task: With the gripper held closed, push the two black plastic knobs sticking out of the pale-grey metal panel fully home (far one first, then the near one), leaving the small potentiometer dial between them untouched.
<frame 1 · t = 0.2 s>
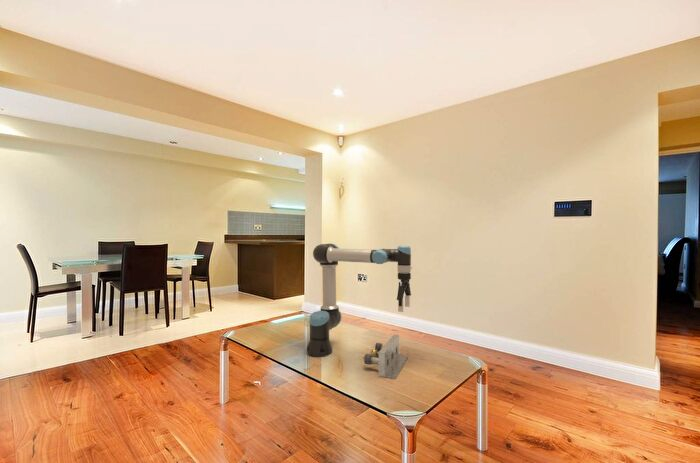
hand: (404, 309, 183), 27 cm above the table, fingers open, 13 cm apart
knob far: (385, 348, 180), point 5 cm above the table, slide at 0.0 cm
panel: (389, 364, 170), on the table
knob near: (375, 360, 164), point 5 cm above the table, slide at 0.0 cm
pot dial: (381, 354, 172), point 5 cm above the table, slide at 0.0 cm
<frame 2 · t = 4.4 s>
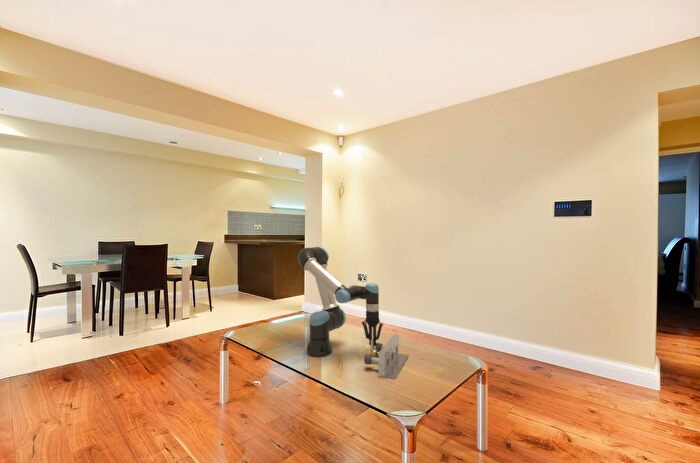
hand: (372, 350, 183), 3 cm above the table, fingers closed
knob far: (385, 348, 180), point 5 cm above the table, slide at 0.2 cm, touching gripper
everything else where it was.
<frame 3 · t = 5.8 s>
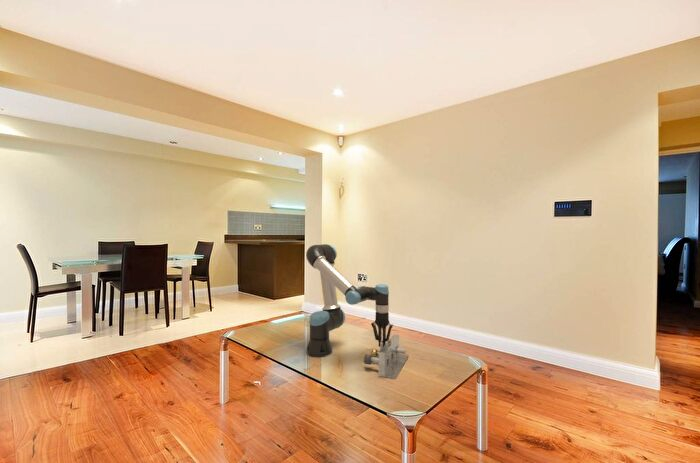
hand: (382, 352, 181), 2 cm above the table, fingers closed
knob far: (395, 350, 178), point 5 cm above the table, slide at 6.0 cm, touching gripper
everything else where it was.
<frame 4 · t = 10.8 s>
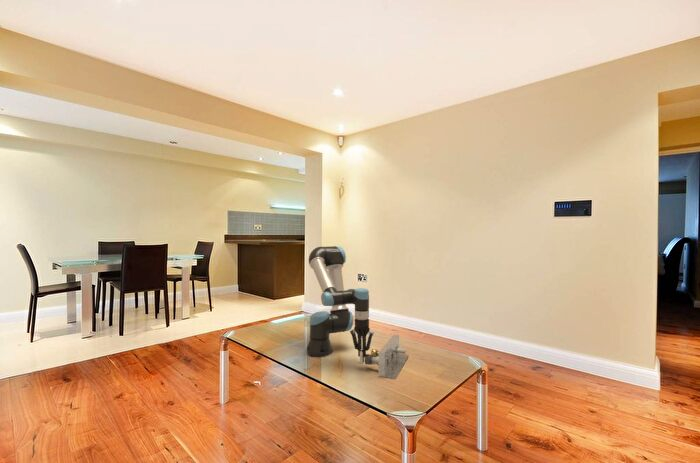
hand: (362, 362, 166), 3 cm above the table, fingers closed
knob far: (395, 350, 178), point 5 cm above the table, slide at 6.0 cm
knob near: (376, 360, 164), point 5 cm above the table, slide at 0.3 cm, touching gripper
everything else where it was.
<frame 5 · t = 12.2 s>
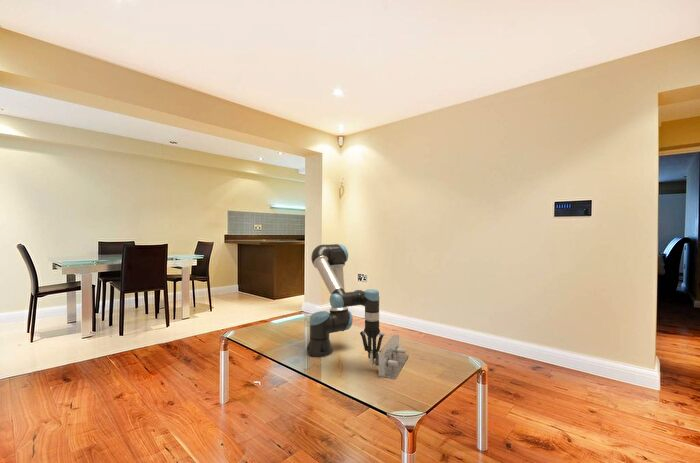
hand: (372, 364, 164), 2 cm above the table, fingers closed
knob near: (386, 362, 162), point 5 cm above the table, slide at 6.0 cm, touching gripper
everything else where it was.
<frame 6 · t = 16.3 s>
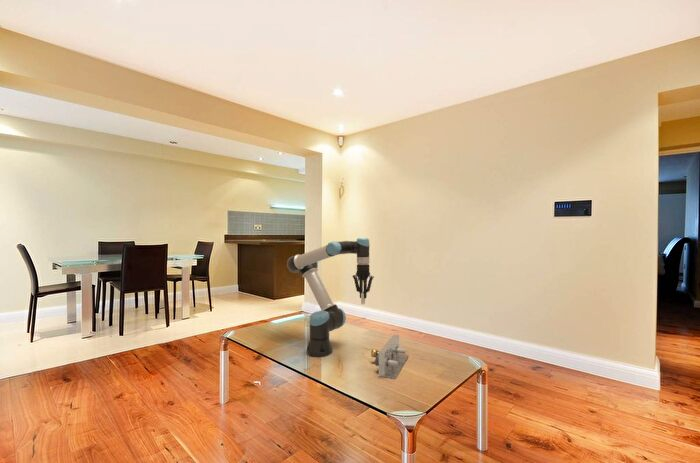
hand: (363, 303, 187), 29 cm above the table, fingers closed
knob near: (386, 362, 162), point 5 cm above the table, slide at 6.0 cm
everything else where it was.
at the end: knob far slide at 6.0 cm; knob near slide at 6.0 cm; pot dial slide at 0.0 cm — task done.
